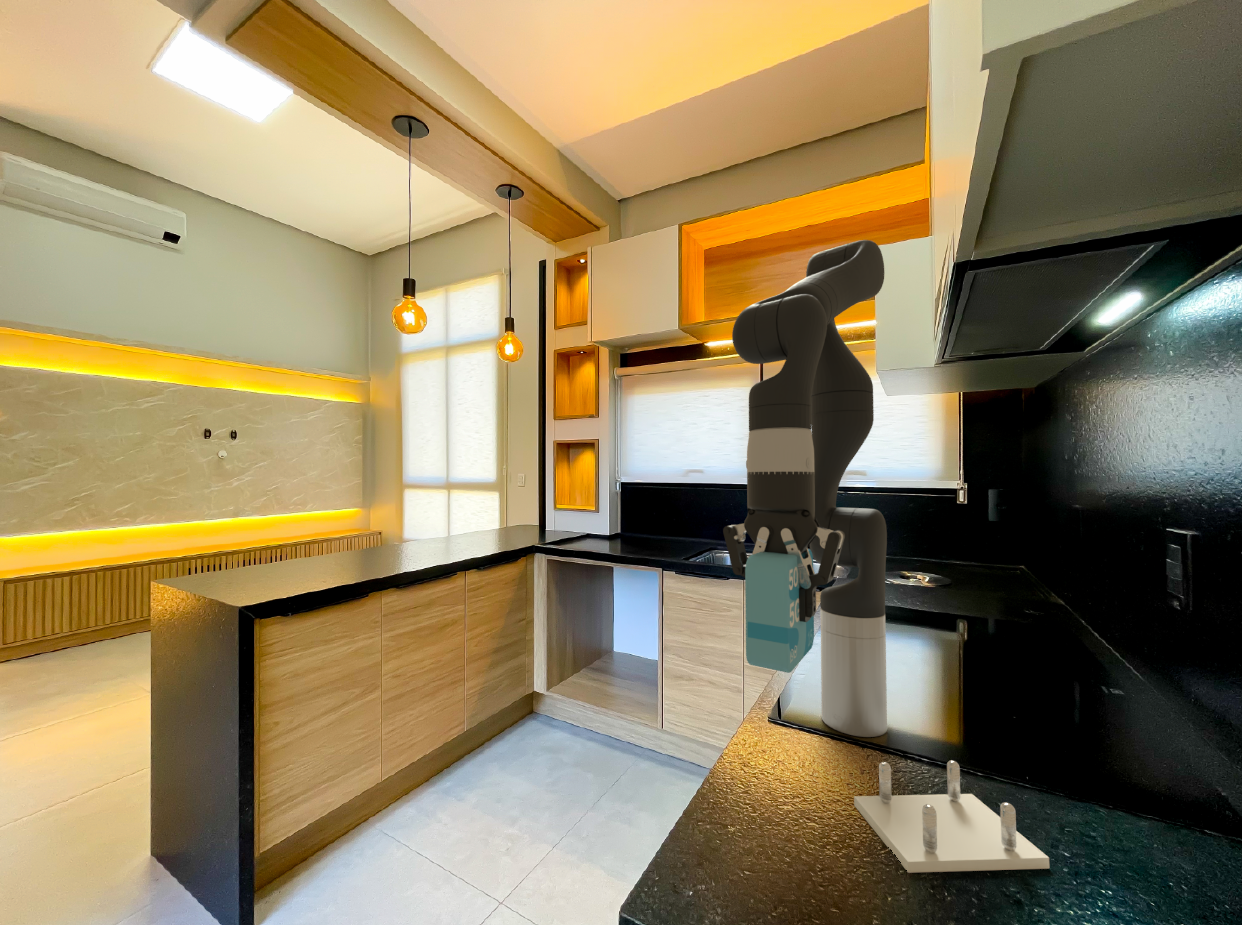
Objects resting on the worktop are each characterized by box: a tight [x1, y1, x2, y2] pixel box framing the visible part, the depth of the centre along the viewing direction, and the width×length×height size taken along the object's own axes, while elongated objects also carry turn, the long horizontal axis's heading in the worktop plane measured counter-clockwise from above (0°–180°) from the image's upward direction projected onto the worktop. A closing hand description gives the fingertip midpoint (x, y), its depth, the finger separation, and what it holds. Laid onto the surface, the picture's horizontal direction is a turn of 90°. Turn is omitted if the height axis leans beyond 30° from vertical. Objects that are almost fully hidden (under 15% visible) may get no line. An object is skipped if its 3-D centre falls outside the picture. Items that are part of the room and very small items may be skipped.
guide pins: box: [878, 759, 1017, 853], centre depth 53 cm, size 9×9×4 cm
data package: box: [744, 548, 815, 673], centre depth 58 cm, size 12×4×12 cm, turn 146°
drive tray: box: [853, 793, 1050, 874], centre depth 53 cm, size 10×14×1 cm
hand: (781, 615), depth 58 cm, fingers closed on data package, 4 cm apart
